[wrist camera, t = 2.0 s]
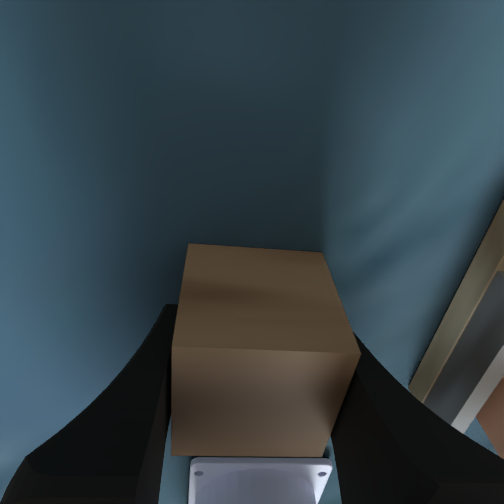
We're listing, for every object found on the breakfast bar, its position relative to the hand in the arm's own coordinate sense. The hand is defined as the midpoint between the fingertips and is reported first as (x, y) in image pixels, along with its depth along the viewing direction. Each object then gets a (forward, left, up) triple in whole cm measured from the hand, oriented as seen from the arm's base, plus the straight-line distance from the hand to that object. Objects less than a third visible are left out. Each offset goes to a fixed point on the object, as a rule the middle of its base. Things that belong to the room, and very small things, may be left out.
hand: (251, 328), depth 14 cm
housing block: (0, 0, -2) cm, 2 cm away
